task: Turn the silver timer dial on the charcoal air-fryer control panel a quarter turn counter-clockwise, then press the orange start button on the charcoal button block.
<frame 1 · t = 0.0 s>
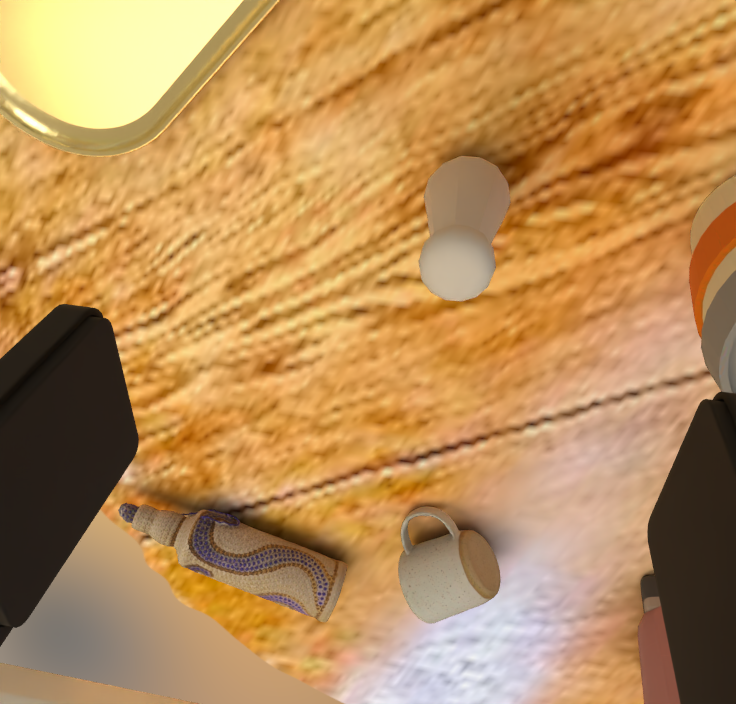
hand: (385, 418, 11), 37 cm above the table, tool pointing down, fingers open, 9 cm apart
salt shaker: (468, 184, 47), on the table
ceramic mug: (443, 535, 69), on the table
decorative bottle: (250, 525, 74), on the table
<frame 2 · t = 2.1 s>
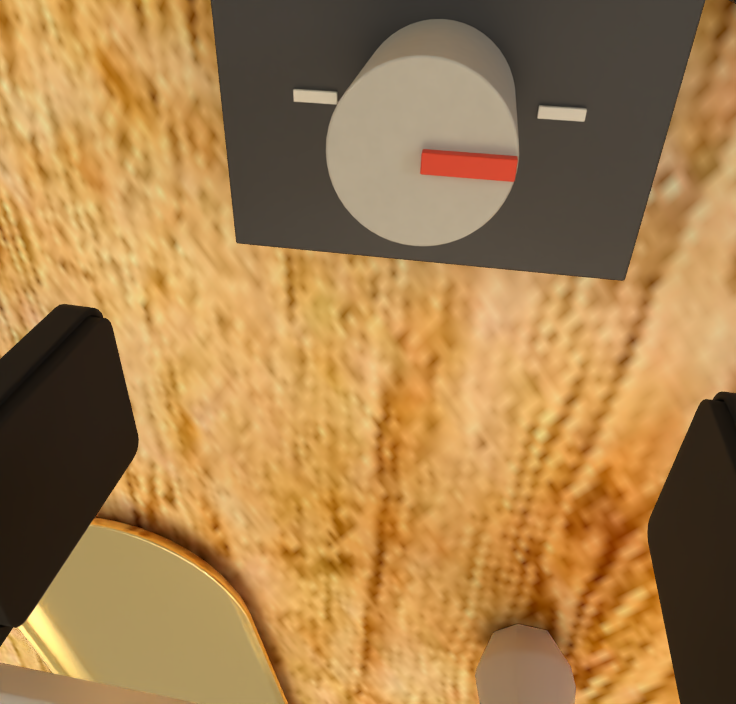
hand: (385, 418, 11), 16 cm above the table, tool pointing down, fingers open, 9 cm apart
timer knob: (428, 130, 18), point 6 cm above the table, hinge at 0.0°
salt shaker: (523, 640, 41), on the table
fryer panel: (442, 80, 23), on the table
serving platter: (170, 658, 50), on the table
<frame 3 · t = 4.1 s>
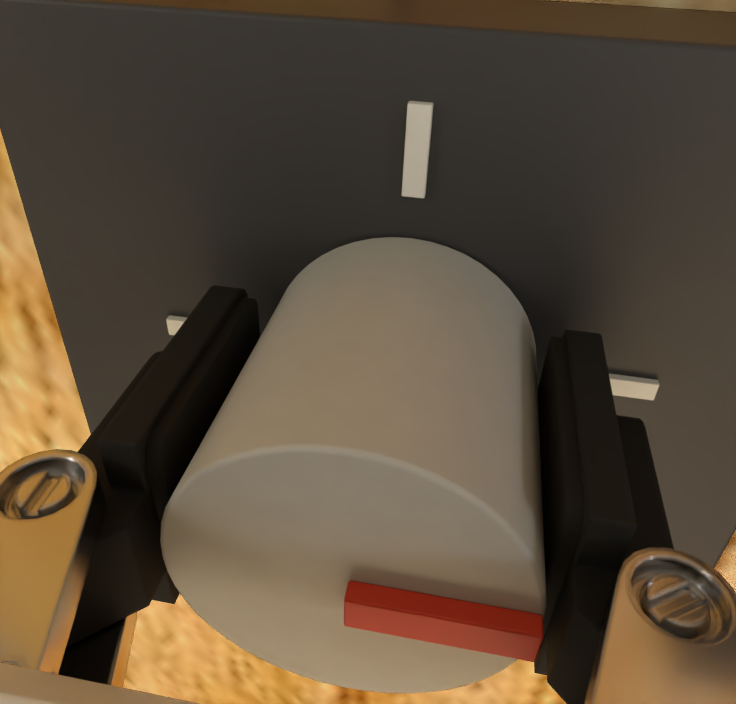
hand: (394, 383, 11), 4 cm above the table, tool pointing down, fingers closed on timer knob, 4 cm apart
timer knob: (376, 456, 10), point 6 cm above the table, hinge at 0.0°, touching gripper
fryer panel: (420, 274, 14), on the table
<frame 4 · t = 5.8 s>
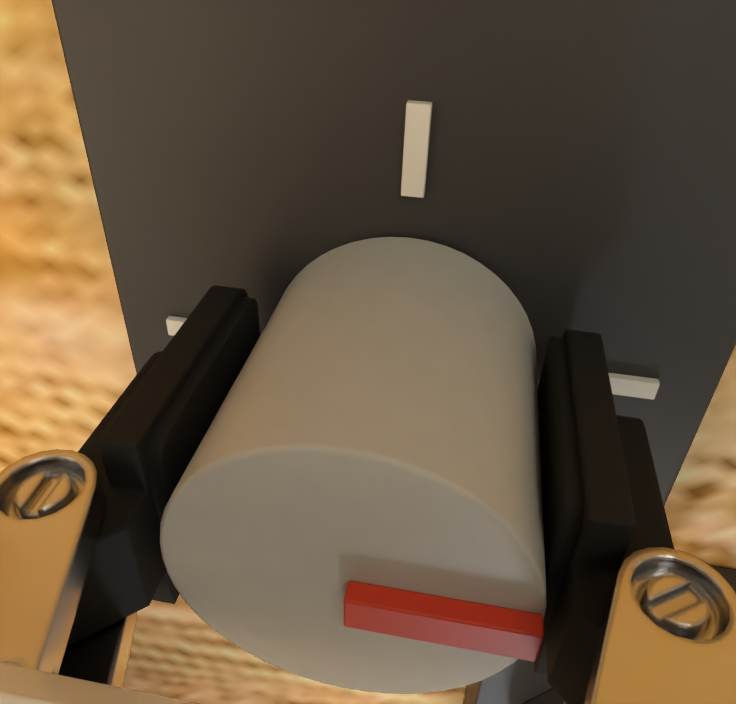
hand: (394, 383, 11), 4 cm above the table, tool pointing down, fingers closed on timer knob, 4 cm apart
timer knob: (376, 456, 10), point 6 cm above the table, hinge at 90.2°, touching gripper
fryer panel: (420, 274, 14), on the table
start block: (628, 672, 22), on the table
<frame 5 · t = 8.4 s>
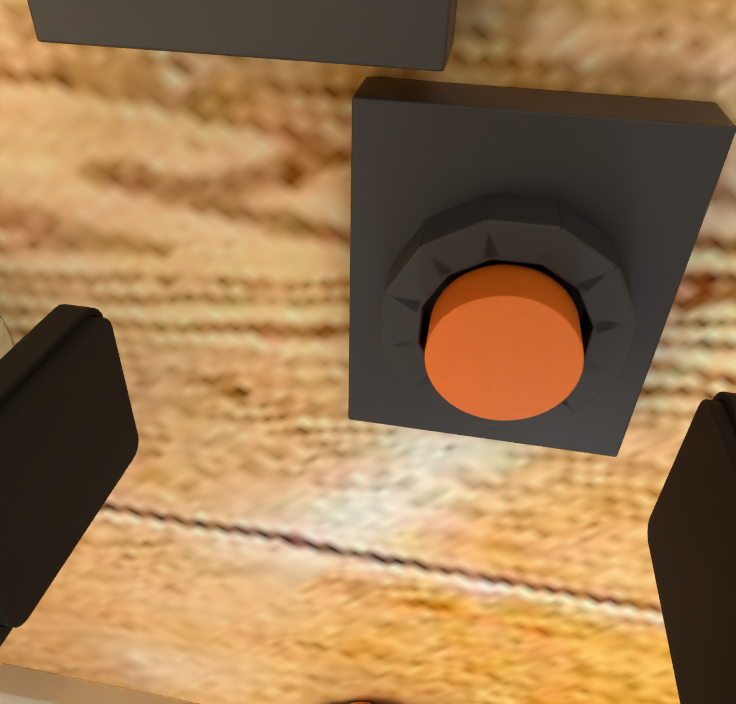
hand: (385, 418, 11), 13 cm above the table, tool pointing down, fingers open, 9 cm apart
start button: (502, 344, 19), point 4 cm above the table, slide at 0.1 cm
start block: (504, 269, 23), on the table
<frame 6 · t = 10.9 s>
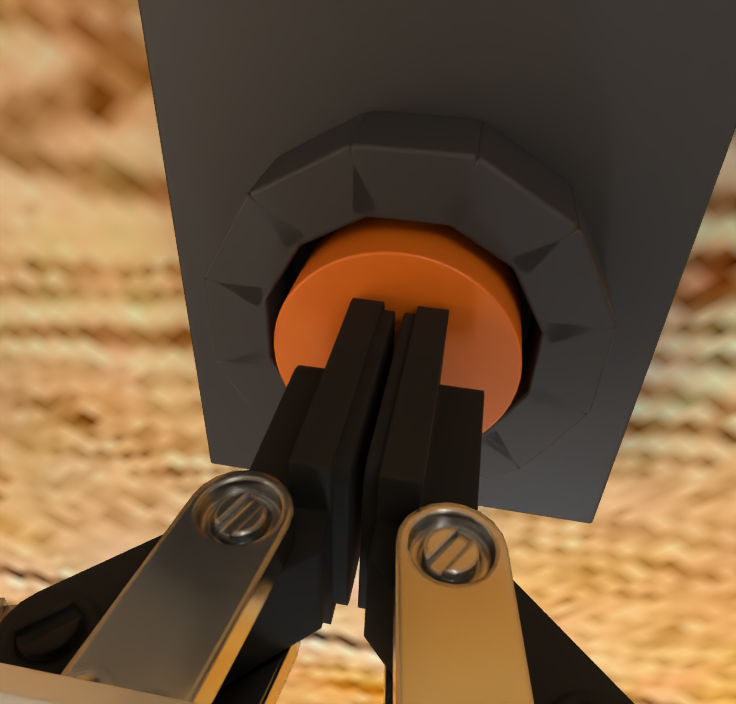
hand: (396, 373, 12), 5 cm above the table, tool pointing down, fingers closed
start button: (400, 336, 12), point 4 cm above the table, slide at -0.7 cm, touching gripper
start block: (422, 246, 15), on the table
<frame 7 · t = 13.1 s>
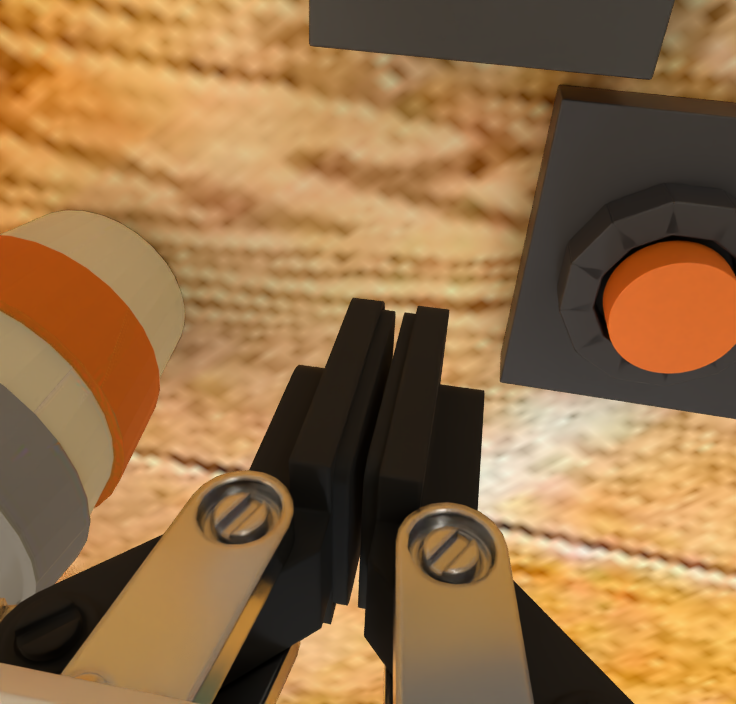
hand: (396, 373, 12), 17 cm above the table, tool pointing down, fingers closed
start button: (671, 308, 23), point 4 cm above the table, slide at 0.1 cm
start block: (650, 252, 26), on the table
reusable coffee cup: (102, 292, 33), on the table
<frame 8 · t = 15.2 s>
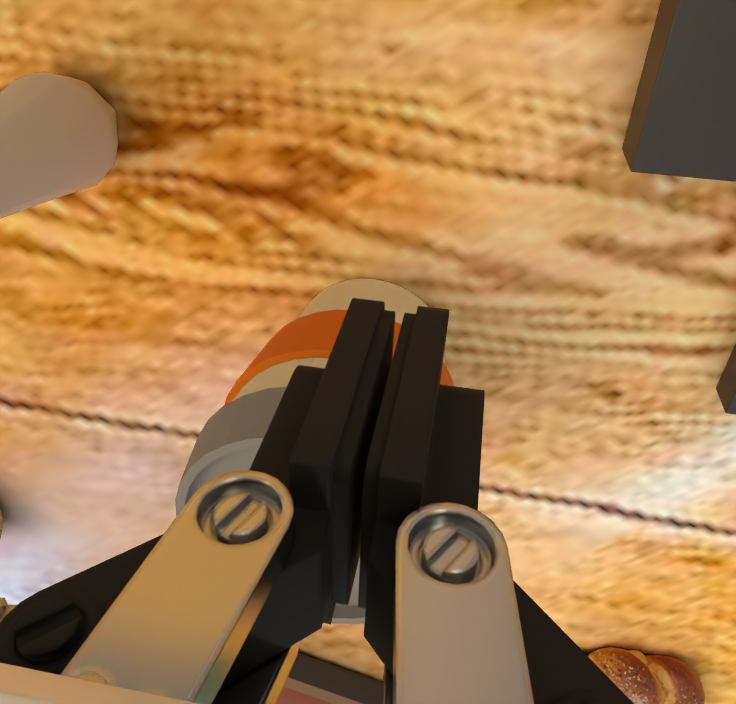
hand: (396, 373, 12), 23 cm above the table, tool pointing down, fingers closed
braided bread roll: (625, 674, 56), on the table
salt shaker: (85, 118, 35), on the table
toaster: (298, 694, 68), on the table
reusable coffee cup: (371, 340, 40), on the table
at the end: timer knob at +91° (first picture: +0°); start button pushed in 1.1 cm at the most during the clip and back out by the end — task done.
